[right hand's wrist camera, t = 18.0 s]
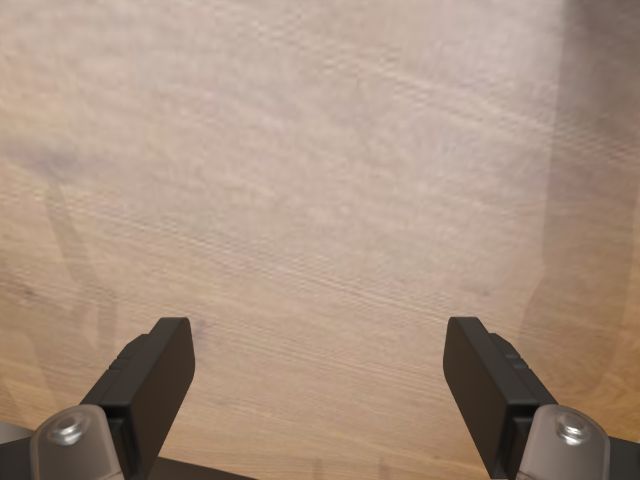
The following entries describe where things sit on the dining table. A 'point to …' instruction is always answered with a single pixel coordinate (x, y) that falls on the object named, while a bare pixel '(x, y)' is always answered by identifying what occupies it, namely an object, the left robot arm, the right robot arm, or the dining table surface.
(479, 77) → the dining table surface
